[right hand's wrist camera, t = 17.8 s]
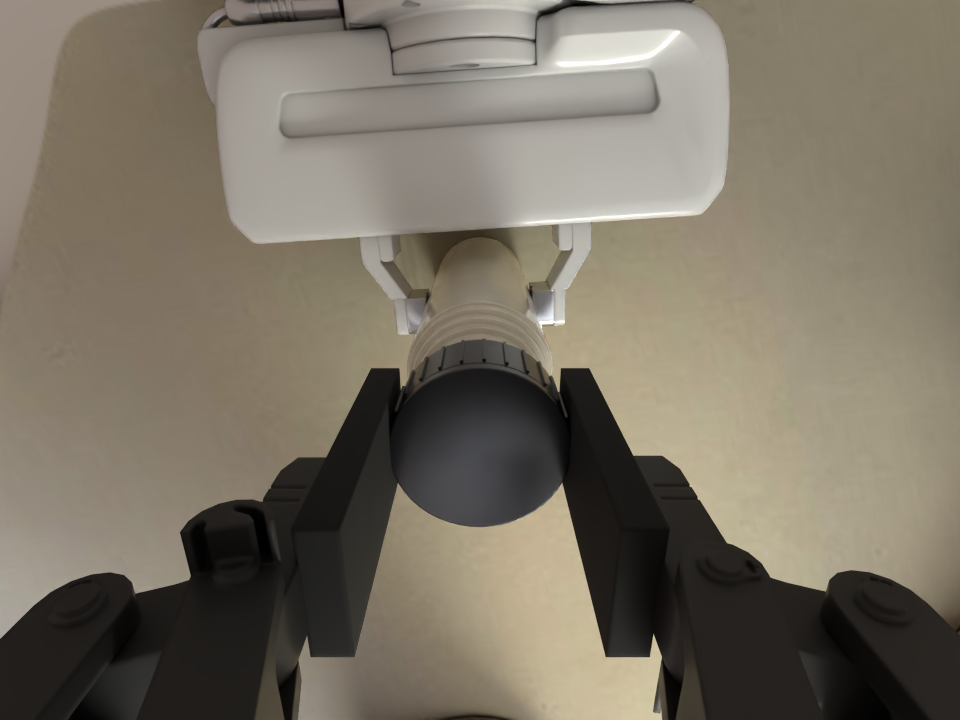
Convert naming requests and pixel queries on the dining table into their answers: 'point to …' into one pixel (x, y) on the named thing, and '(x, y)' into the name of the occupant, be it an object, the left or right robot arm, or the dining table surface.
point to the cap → (480, 434)
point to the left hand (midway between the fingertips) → (482, 327)
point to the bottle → (480, 304)
